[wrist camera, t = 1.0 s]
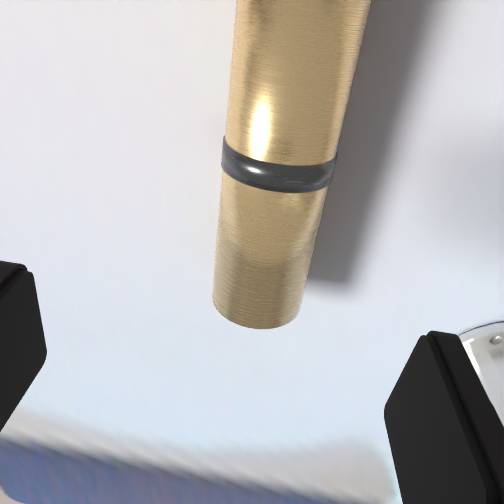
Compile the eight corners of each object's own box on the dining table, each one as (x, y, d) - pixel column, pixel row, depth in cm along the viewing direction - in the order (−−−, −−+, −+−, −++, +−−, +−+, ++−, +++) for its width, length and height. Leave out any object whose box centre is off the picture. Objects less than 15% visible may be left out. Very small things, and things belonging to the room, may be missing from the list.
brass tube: (244, -73, 20) (236, -93, 15) (370, -54, 20) (407, -68, 15) (215, 267, 31) (205, 324, 26) (298, 276, 31) (305, 335, 26)
